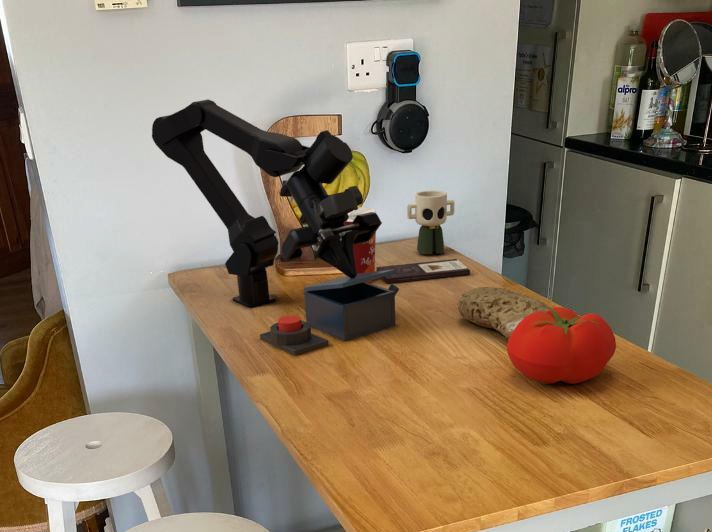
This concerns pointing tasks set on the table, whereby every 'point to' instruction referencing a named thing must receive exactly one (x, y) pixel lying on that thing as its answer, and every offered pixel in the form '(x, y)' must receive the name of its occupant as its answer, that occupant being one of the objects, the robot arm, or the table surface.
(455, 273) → the chocolate bar
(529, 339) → the tomato
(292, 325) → the red button
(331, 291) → the storage box
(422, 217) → the character mug
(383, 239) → the table surface
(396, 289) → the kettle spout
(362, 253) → the paper cup
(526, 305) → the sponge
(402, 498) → the table surface
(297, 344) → the push button switch
